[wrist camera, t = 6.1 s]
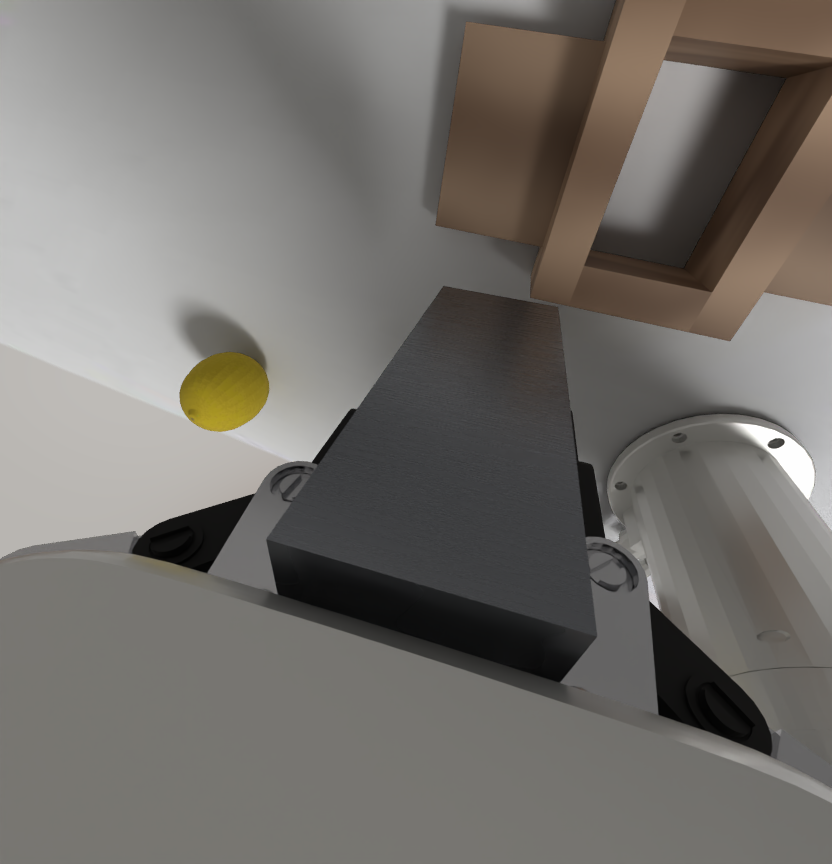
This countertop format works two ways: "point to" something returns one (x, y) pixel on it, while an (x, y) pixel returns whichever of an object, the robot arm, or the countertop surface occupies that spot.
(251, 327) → the countertop surface
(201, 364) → the lemon
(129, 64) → the countertop surface
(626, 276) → the socket
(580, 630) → the bracket
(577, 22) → the countertop surface
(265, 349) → the countertop surface
